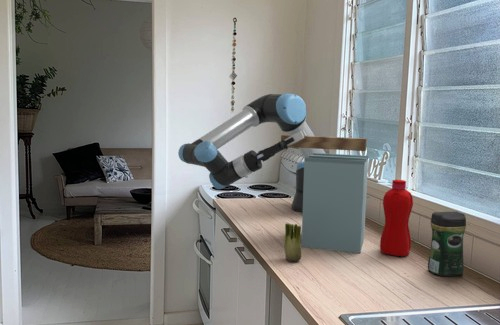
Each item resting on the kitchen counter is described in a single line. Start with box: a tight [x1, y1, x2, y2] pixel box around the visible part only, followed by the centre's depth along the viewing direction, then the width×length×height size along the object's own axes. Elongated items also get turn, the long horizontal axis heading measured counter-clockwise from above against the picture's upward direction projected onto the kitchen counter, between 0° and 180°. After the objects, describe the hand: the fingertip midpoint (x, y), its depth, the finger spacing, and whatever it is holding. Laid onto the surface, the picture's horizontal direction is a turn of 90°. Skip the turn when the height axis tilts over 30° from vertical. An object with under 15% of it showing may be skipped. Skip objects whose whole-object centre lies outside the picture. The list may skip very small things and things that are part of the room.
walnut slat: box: [280, 134, 368, 152], centre depth 161 cm, size 29×4×4 cm, turn 72°
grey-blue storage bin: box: [301, 153, 369, 254], centre depth 166 cm, size 18×20×31 cm
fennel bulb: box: [284, 222, 302, 263], centre depth 147 cm, size 6×5×12 cm
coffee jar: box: [427, 211, 467, 277], centre depth 139 cm, size 10×8×19 cm
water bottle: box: [379, 179, 414, 257], centre depth 157 cm, size 9×11×25 cm
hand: (303, 134), depth 163 cm, fingers closed on walnut slat, 4 cm apart
